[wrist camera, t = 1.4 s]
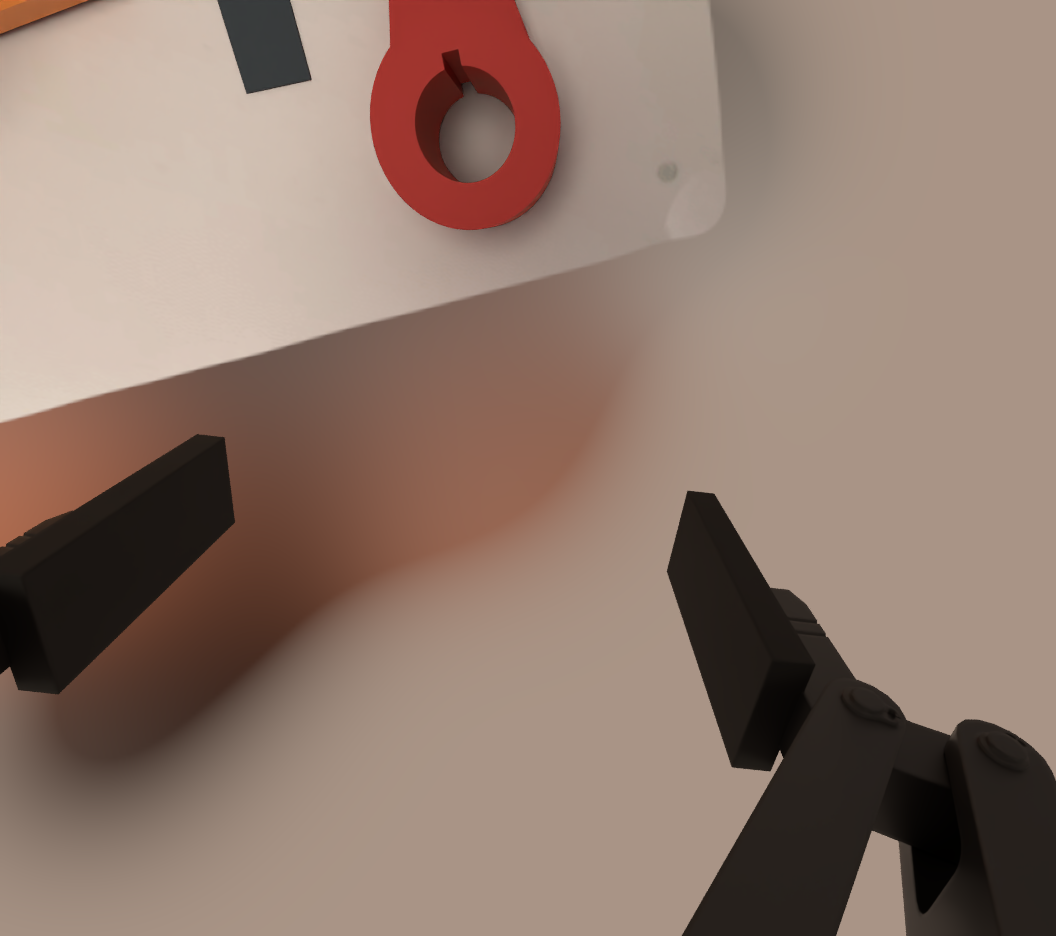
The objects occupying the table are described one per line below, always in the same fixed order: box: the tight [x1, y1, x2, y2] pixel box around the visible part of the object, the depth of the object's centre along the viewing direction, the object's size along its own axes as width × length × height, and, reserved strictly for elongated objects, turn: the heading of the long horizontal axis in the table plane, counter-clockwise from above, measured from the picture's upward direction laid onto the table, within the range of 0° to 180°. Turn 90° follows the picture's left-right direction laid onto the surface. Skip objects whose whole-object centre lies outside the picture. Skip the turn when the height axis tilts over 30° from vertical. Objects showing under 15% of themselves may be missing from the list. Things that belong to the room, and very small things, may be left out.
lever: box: [370, 0, 561, 230], centre depth 29 cm, size 18×9×7 cm, turn 11°
